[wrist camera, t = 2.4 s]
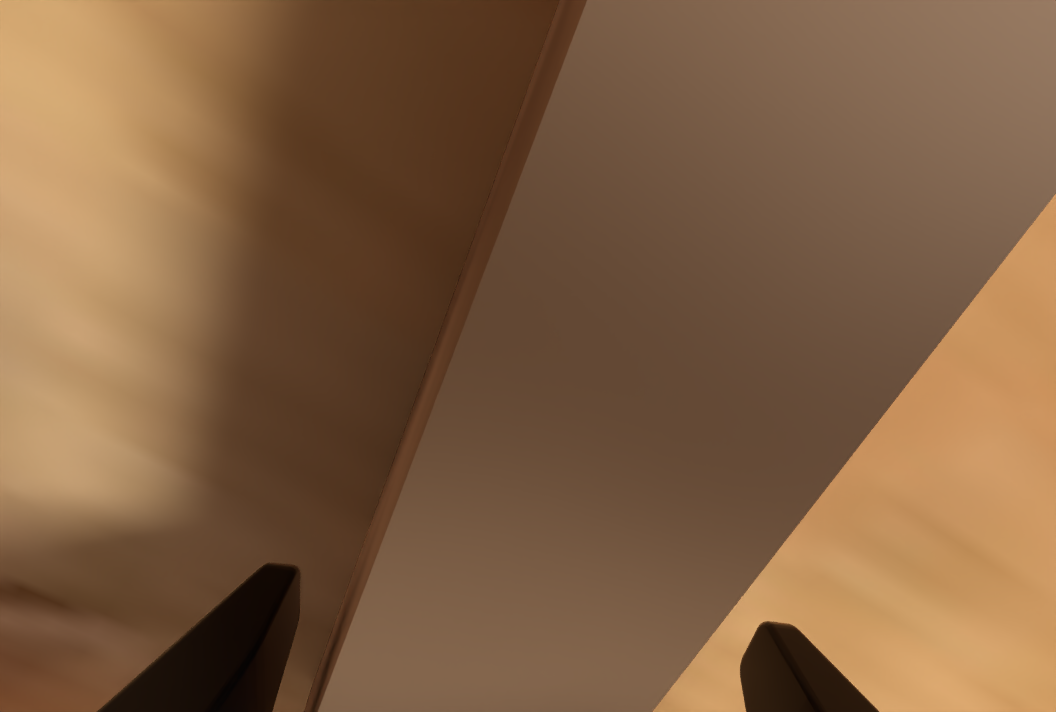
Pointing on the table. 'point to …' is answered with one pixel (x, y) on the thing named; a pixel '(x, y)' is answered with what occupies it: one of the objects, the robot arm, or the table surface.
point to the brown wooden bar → (683, 331)
